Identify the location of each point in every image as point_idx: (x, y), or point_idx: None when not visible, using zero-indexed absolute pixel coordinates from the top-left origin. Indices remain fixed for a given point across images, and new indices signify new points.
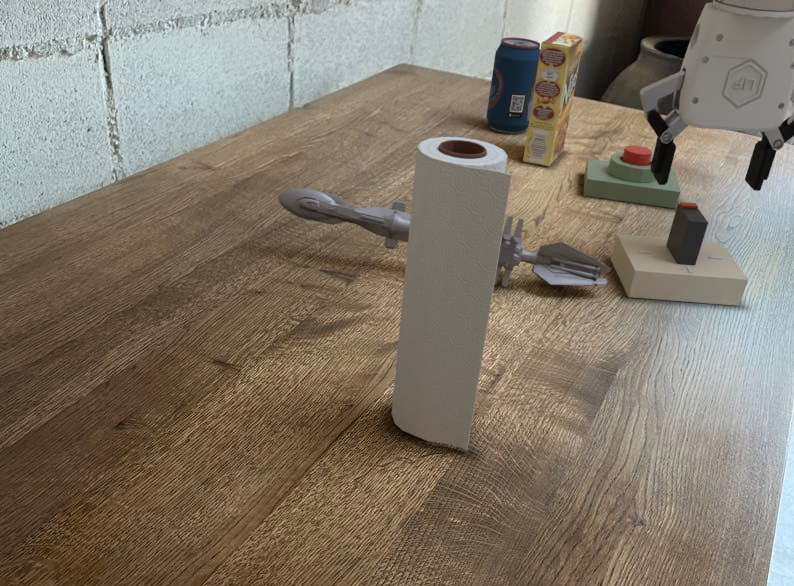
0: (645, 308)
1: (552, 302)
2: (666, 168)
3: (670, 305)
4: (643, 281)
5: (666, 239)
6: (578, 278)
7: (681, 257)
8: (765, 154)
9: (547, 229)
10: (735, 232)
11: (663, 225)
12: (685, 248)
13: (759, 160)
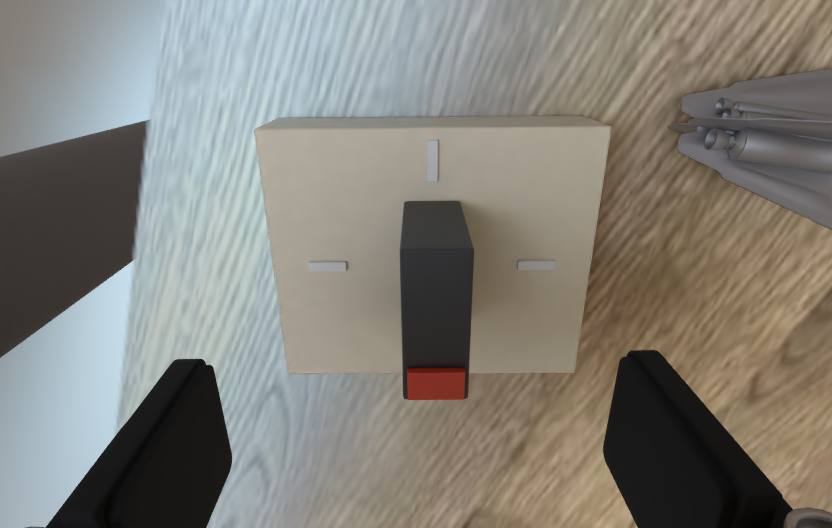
0: (554, 52)
1: (821, 41)
2: (682, 394)
3: (474, 87)
4: (567, 122)
5: None
6: (773, 99)
7: (454, 206)
8: (116, 496)
9: None
10: (217, 514)
11: (374, 518)
12: (451, 215)
13: (160, 484)
